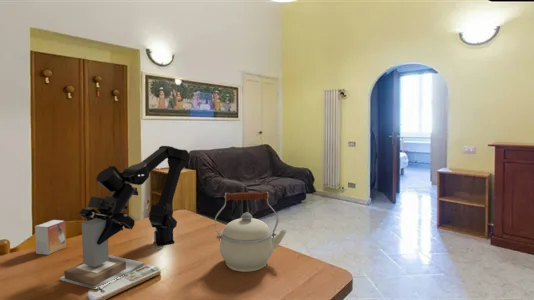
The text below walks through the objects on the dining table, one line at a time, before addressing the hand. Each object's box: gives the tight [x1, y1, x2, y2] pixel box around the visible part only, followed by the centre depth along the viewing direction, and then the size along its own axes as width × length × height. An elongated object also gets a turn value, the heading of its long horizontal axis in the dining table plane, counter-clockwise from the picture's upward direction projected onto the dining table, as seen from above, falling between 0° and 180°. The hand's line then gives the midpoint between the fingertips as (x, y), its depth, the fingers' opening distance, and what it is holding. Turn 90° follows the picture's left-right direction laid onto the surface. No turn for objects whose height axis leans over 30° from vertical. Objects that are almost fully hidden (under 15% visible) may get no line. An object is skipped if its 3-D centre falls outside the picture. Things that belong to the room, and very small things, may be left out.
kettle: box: [214, 191, 288, 273], centre depth 109 cm, size 25×18×25 cm
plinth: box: [59, 254, 145, 290], centre depth 102 cm, size 18×16×4 cm
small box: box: [34, 219, 67, 256], centre depth 118 cm, size 8×6×10 cm
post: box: [81, 218, 110, 267], centre depth 99 cm, size 5×5×13 cm
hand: (91, 242), depth 97 cm, fingers closed on post, 5 cm apart
